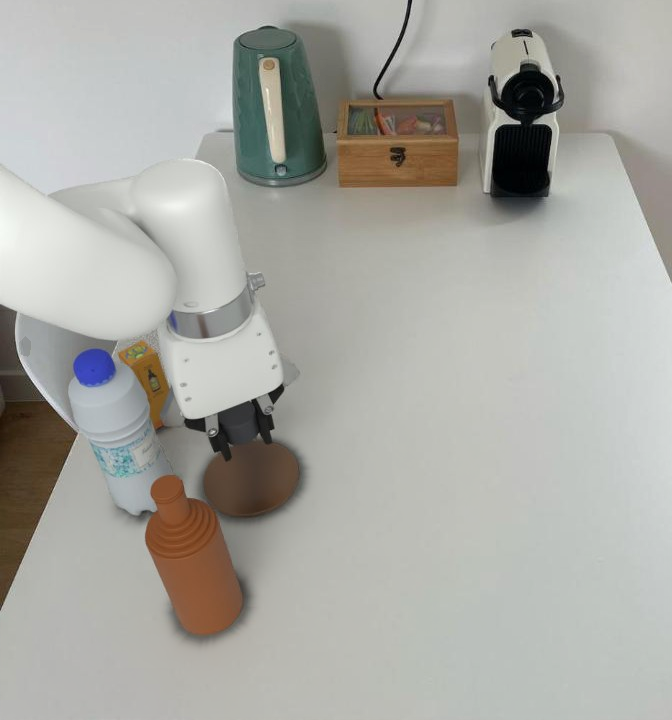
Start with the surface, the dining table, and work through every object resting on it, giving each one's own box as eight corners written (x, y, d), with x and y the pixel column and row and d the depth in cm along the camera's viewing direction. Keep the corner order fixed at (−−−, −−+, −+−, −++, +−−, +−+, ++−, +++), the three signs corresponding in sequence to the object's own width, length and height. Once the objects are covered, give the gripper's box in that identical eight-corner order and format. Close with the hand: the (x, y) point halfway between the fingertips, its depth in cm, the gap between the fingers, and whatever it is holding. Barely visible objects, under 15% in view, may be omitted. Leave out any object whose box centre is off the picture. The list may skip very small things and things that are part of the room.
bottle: (165, 526, 82) (109, 385, 68) (103, 519, 83) (35, 378, 69) (189, 474, 86) (141, 333, 73) (130, 468, 87) (71, 327, 74)
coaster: (221, 533, 81) (220, 529, 80) (192, 465, 87) (190, 462, 87) (313, 493, 84) (313, 489, 84) (278, 431, 91) (277, 427, 90)
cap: (254, 413, 83) (249, 394, 81) (264, 438, 80) (259, 418, 78) (218, 425, 82) (213, 405, 80) (227, 450, 79) (221, 430, 77)
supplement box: (166, 401, 95) (144, 337, 88) (180, 417, 93) (159, 352, 86) (140, 415, 93) (116, 350, 86) (154, 431, 91) (130, 367, 84)
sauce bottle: (189, 647, 72) (138, 530, 60) (169, 595, 76) (117, 476, 64) (252, 615, 74) (215, 497, 62) (229, 566, 78) (190, 446, 66)
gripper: (280, 251, 75) (305, 391, 87) (100, 310, 69) (154, 450, 82) (313, 294, 70) (334, 436, 82) (121, 361, 64) (175, 502, 77)
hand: (244, 442), depth 82 cm, fingers closed on cap, 3 cm apart
